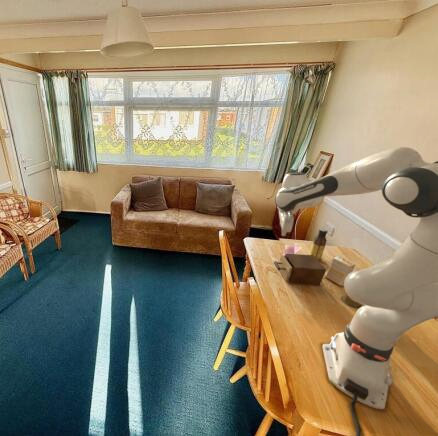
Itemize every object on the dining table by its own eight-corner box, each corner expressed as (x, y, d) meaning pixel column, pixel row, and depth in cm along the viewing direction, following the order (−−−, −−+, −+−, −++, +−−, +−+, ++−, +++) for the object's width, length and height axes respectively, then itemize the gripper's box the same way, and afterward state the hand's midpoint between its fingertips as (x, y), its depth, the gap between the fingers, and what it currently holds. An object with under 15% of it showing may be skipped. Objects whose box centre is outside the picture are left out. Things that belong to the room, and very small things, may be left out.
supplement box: (346, 284, 120) (356, 264, 114) (341, 287, 118) (350, 266, 112) (330, 275, 127) (339, 255, 121) (324, 277, 125) (333, 257, 119)
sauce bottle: (320, 256, 142) (331, 229, 133) (320, 262, 137) (332, 233, 129) (307, 253, 145) (317, 226, 137) (307, 258, 140) (318, 230, 132)
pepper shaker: (362, 307, 105) (372, 289, 101) (347, 305, 107) (356, 287, 102) (354, 298, 111) (363, 280, 106) (340, 296, 112) (348, 278, 107)
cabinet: (289, 283, 121) (295, 267, 116) (280, 268, 132) (285, 253, 127) (319, 285, 119) (326, 269, 114) (307, 270, 130) (313, 255, 126)
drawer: (277, 280, 122) (281, 267, 118) (269, 267, 132) (273, 254, 128) (312, 283, 119) (318, 269, 116) (302, 269, 130) (307, 256, 126)
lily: (284, 251, 149) (280, 241, 145) (305, 251, 141) (302, 240, 137) (282, 265, 142) (278, 255, 138) (305, 266, 134) (301, 254, 130)
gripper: (299, 216, 98) (292, 242, 105) (293, 198, 115) (287, 222, 121) (282, 214, 101) (276, 240, 107) (279, 197, 117) (274, 220, 124)
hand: (282, 230), depth 114 cm, fingers open, 8 cm apart
